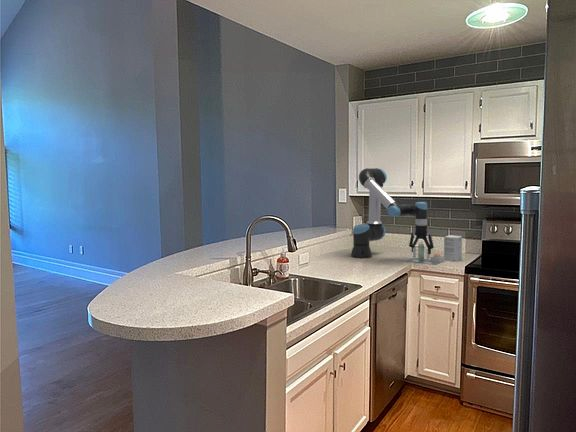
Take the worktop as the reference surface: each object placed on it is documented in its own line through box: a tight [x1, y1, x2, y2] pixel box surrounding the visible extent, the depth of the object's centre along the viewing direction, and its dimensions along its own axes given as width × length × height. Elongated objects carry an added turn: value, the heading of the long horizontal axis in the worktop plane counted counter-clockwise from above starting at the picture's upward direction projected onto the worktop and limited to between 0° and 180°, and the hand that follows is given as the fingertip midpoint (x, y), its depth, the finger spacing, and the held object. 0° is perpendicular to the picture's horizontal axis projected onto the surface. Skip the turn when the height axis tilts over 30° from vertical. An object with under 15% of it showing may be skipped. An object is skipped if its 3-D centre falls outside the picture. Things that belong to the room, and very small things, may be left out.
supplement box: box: [443, 234, 463, 262], centre depth 286 cm, size 10×9×17 cm
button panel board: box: [404, 255, 446, 266], centre depth 283 cm, size 22×16×4 cm
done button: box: [433, 252, 441, 257], centre depth 282 cm, size 4×4×4 cm
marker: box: [417, 242, 425, 262], centre depth 283 cm, size 4×4×12 cm
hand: (421, 258), depth 283 cm, fingers open, 9 cm apart
